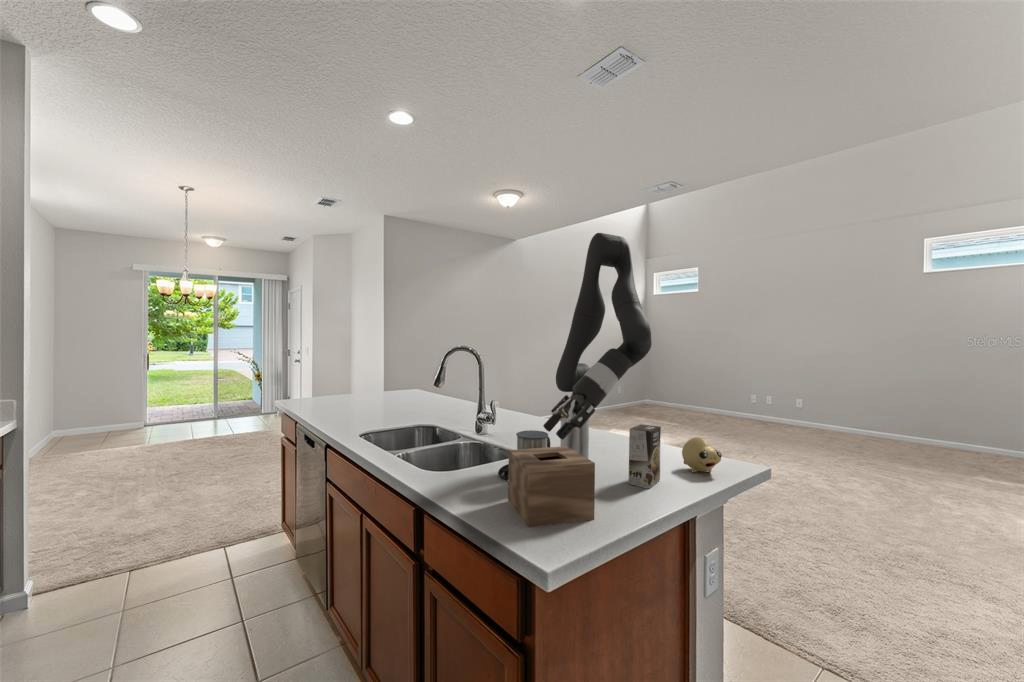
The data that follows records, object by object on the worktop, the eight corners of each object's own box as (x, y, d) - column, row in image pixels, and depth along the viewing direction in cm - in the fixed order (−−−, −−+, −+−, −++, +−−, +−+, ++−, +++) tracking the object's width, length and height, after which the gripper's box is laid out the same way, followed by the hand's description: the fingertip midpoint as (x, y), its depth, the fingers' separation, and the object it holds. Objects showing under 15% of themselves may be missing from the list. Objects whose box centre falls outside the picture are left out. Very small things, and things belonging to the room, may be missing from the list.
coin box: (508, 501, 111) (508, 450, 111) (566, 495, 115) (566, 446, 115) (528, 527, 95) (529, 468, 95) (594, 519, 100) (594, 463, 100)
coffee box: (650, 489, 120) (650, 431, 120) (627, 484, 124) (628, 428, 124) (661, 481, 127) (661, 426, 127) (639, 476, 131) (640, 423, 131)
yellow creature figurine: (698, 479, 129) (698, 443, 129) (676, 467, 141) (676, 434, 141) (727, 477, 131) (728, 442, 131) (703, 465, 143) (703, 433, 143)
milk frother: (545, 493, 116) (546, 438, 116) (488, 488, 120) (489, 434, 120) (552, 477, 130) (553, 427, 130) (501, 472, 134) (502, 424, 134)
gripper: (573, 371, 115) (532, 417, 112) (599, 377, 101) (553, 428, 98) (591, 391, 116) (551, 436, 113) (619, 399, 103) (574, 450, 99)
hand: (552, 432), depth 106 cm, fingers open, 8 cm apart
